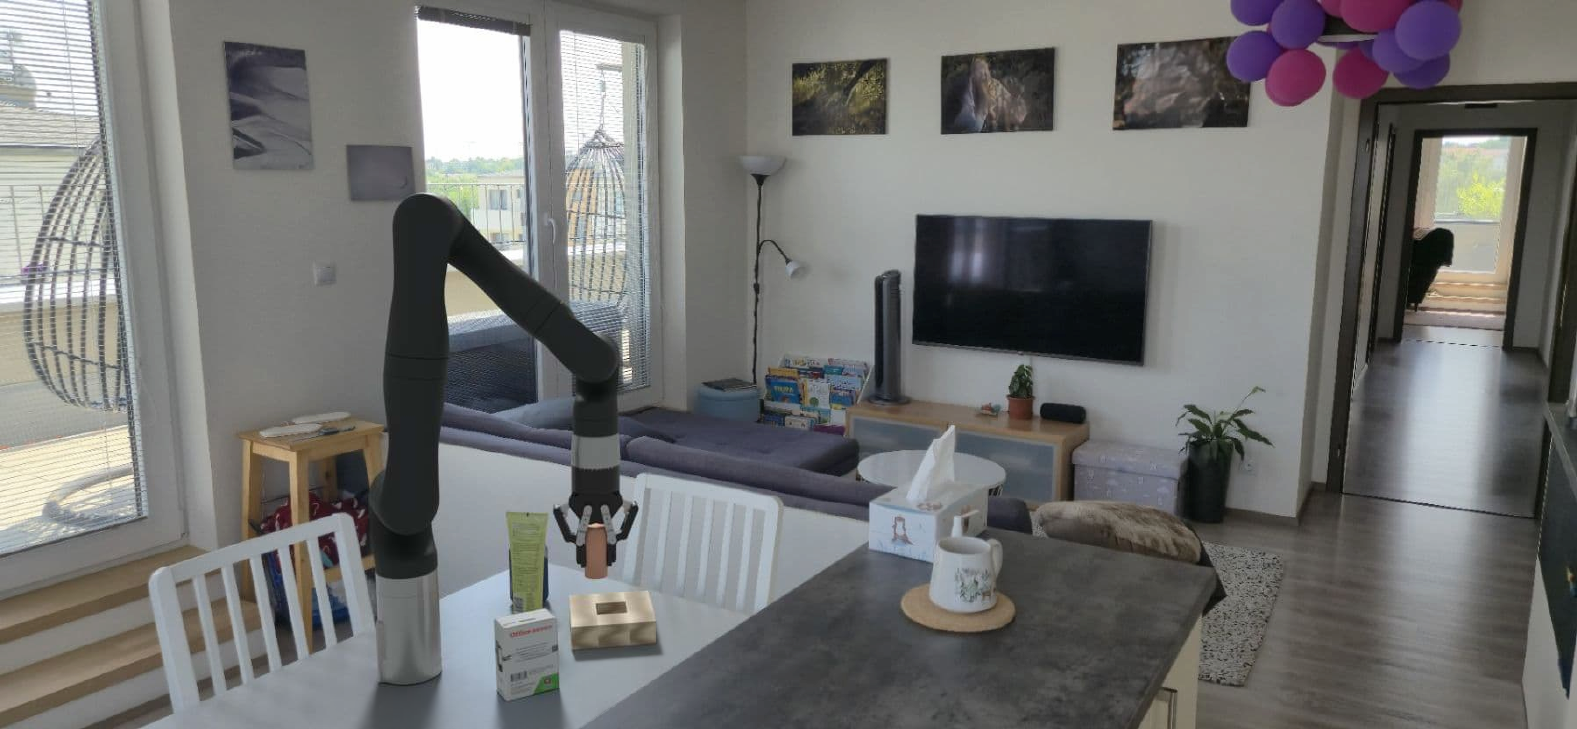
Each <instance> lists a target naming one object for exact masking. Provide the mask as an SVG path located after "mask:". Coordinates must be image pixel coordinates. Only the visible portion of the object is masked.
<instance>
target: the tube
mask: <svg viewBox="0 0 1577 729" xmlns="http://www.w3.org/2000/svg"><path fill="white" fill-rule="evenodd" d="M505 518H506V522H507V529H508V540H509V549H510V552H511V566H512V582H513V602H512V603H513V606H512V607H513V615H515V614H520V613H525V612H530V611H535V610H539V609H543V605H542V599H543V571H544V552H545V544H546V538H547V527H548V520H549V512H531V511H529V512H527V511H511V510H510V511H509V510H506V511H505Z"/></svg>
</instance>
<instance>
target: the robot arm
mask: <svg viewBox="0 0 1577 729" xmlns="http://www.w3.org/2000/svg"><path fill="white" fill-rule="evenodd" d="M391 224H392V225H391V226H392V251H393V252H392V253H393V284H392V285H393V287H392V295H391V301H390V307H389V314H388V322H387V323H388V324H387V332H386V341H385V346H384V347H385V348H384V360H383V371H382V372H383V373H382V388H383V389H382V391H383V401H384V414H385V418H386V425H387V436H388V449H387V457H386V465H385V468H384V469H381V471H379V472H378V473H377V474H376V476H375V477H374V478H373V479H372V482H371V484H370V487H369V489H368V490H369V491H368V514H369V515H368V516H369V527H370V528H369V530H370V543H371V550H372V554H373V559H374V571H375V587H376V588H375V589H376V590H375V592H376V610H377V620H376V623H375V642H376V643H375V645H376V664H377V666H376V667H377V682H378V683H388V684H392V685H397V686H399V685H403V686H404V685H415V684H420V683H424V682H427V681H430V680H431V679H434V678H435V677H437V676H438V675H439V674H441V672H442V669H443V667H442V666H443V665H442V664H443V663H442V662H443V661H442V660H443V655H442V637H441V612H440V611H441V610H440V586H439V565H438V564H439V563H438V562H439V559H438V549H437V545H436V542H435V538H434V534H433V524H432V522H433V521H434V520H435V518H436V515H437V513H438V510H439V509H440V508H439V506H440V476H439V474H440V470H439V464H440V463H439V451H440V450H439V449H440V448H439V444H440V437H441V429H442V422H443V417H444V409H445V400H446V390H447V383H448V376H449V375H448V374H449V362H450V351H451V350H450V346H451V345H450V344H451V342H450V341H451V340H450V330H449V322H448V314H447V307H446V299H445V296H446V295H445V290H446V289H445V288H446V277H447V271H448V266H451V267H453V268H455V269H456V270H458V272H460V273H461V274H463V275H464V276H466V277H467V279H469V280H470V281H471V282H473V283H474V284H475V285H476V286H477V287H478V288H479V289H480V290H481V291H482V292H483V293H484V294H485V295H486V296H487V297H488V298H489V299H490V300H491V301H492V302H493V303H494V304H495V305H496V306H497V308H499V309H500V310H501V311H502V313H503V314H505V315H506V316H507V317H508V318H509V319H510V320H511V321H512V322H514V323H515V324H516V325H518V327H520V328H521V329H522V330H524V331H525V332H526V333H528V334H529V335H530V336H532V338H533V339H535V340H537V342H540V343H541V344H542V345H544V346H545V348H547V350H548V352H550V353H551V354H552V355H553V356H554V357H555V358H556V359H557V360H558V361H559V362H560V364H562V365H563V367H564V368H566V370H568V371H570V373H571V374H573V375H574V376H575V398H574V400H573V404H572V439H571V447H570V448H571V449H570V451H571V452H570V462H571V463H570V465H571V466H570V467H571V468H570V469H571V472H570V475H571V477H570V479H571V481H570V482H571V483H570V484H571V489H570V491H571V493H570V496H569V497H568V501H566V502H563V503H560V504H559V503H555V504H553V506H552V514H553V516H554V519H555V521H556V523H557V526H558V528H559V530H560V533H561V534H562V537H563V540H564V542H565V543H567V544H568V543H573V544H574V545H575V561H576V564H577V565H580V568H581V569H585V535H586V532H587V528H588V525H592V524H605V528H606V532H607V536H608V543H607V567H612V566H613V563H616V561H617V544H618V542H621V541H626V540H627V539H628V538H629V535H630V532H631V530H632V528H633V525H634V522H635V520H636V517H637V515H638V512H639V509H640V508H639V505H638V502H637V501H636V500H631V501H629V500H626V499H624V498H623V495H622V494H621V488H620V487H621V482H620V481H621V467H620V466H621V465H620V464H621V447H620V446H621V444H620V438H619V408H618V391H619V390H618V388H619V379H620V377H619V376H620V365H621V364H620V362H621V361H620V359H621V358H620V350H619V346H618V344H617V342H616V340H615V339H613V337H611V336H610V335H609V334H607V333H604V332H603V331H602V332H600V331H593V330H591V329H590V328H589V327H588V326H586V325H585V324H584V323H583V322H581V321H580V320H579V319H578V318H577V317H576V315H575V313H574V312H573V309H572V308H570V307H569V306H568V304H566V303H565V302H564V301H562V300H561V299H560V298H559V297H558V296H556V295H555V294H554V293H553V292H552V291H550V290H549V289H548V288H546V287H545V286H544V285H543V284H541V283H540V282H539V281H538V280H536V279H535V278H534V277H532V276H531V275H530V274H529V273H527V272H526V271H525V270H523V269H522V268H521V267H519V266H518V265H517V264H515V263H514V262H513V261H512V260H510V259H509V258H508V257H507V256H505V254H503V253H502V252H501V251H500V250H499V249H497V248H496V247H495V246H494V245H493V244H492V243H491V242H490V241H489V240H488V239H487V238H486V237H484V235H483V234H482V233H481V232H480V231H479V229H477V228H476V227H475V226H474V225H473V223H472V222H471V221H470V220H469V219H468V218H467V217H466V216H465V214H464V213H463V212H462V211H461V210H460V209H459V207H458V206H457V204H455V202H453V201H452V200H451V199H450V198H448V197H447V196H444V195H442V194H438V193H432V192H416V193H413V194H411V195H408V196H407V197H405V198H404V199H403V200H402V201H401V202H400V203H399V204H398V206H397V208H396V209H395V211H394V213H393V217H392V223H391ZM621 507H622V508H623V509H622V511H623V514H624V515H625V516H624V518H623V521H622V523H621V526H620V528H619V530H617V531H615V529H614V528H615V527H614V524H613V519H614V517H615V516H616V514H617V513H618V511H619V510H620V509H621ZM569 509H571V511H572V512H573V514H574V515H575V516H576V517H577V518H578V524H577V529H576V532H572V531H571V528H570V526H569V523H568V522H567V517H568V515H569Z"/></svg>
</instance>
